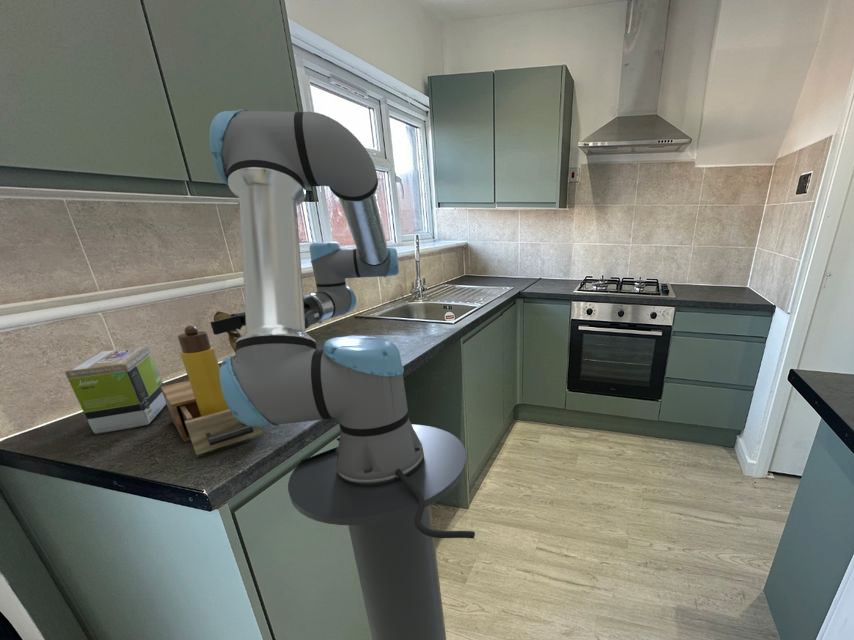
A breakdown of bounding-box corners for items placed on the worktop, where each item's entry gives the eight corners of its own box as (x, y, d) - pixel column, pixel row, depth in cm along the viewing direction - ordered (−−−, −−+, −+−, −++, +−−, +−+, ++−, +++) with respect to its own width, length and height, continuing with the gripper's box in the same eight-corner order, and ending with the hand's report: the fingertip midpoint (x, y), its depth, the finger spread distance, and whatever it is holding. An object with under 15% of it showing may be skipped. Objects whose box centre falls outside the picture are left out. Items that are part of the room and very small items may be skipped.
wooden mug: (247, 364, 131) (231, 308, 125) (279, 368, 127) (264, 310, 120) (220, 374, 124) (202, 314, 117) (253, 378, 119) (236, 316, 112)
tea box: (121, 408, 101) (97, 350, 96) (171, 401, 104) (151, 344, 99) (91, 435, 88) (62, 369, 83) (150, 425, 92) (125, 362, 86)
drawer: (269, 441, 82) (261, 410, 79) (201, 463, 74) (189, 430, 72) (244, 415, 93) (236, 387, 91) (183, 432, 86) (173, 403, 84)
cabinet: (252, 421, 92) (242, 386, 89) (184, 442, 84) (170, 404, 81) (235, 404, 102) (225, 372, 99) (172, 421, 93) (160, 386, 90)
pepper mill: (240, 429, 84) (209, 325, 77) (210, 438, 81) (174, 330, 73) (233, 421, 88) (203, 321, 80) (204, 430, 84) (169, 326, 77)
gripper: (354, 325, 104) (292, 349, 85) (273, 322, 110) (198, 344, 91) (349, 295, 101) (284, 313, 82) (266, 293, 107) (187, 310, 88)
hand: (238, 329), depth 86 cm, fingers open, 13 cm apart
